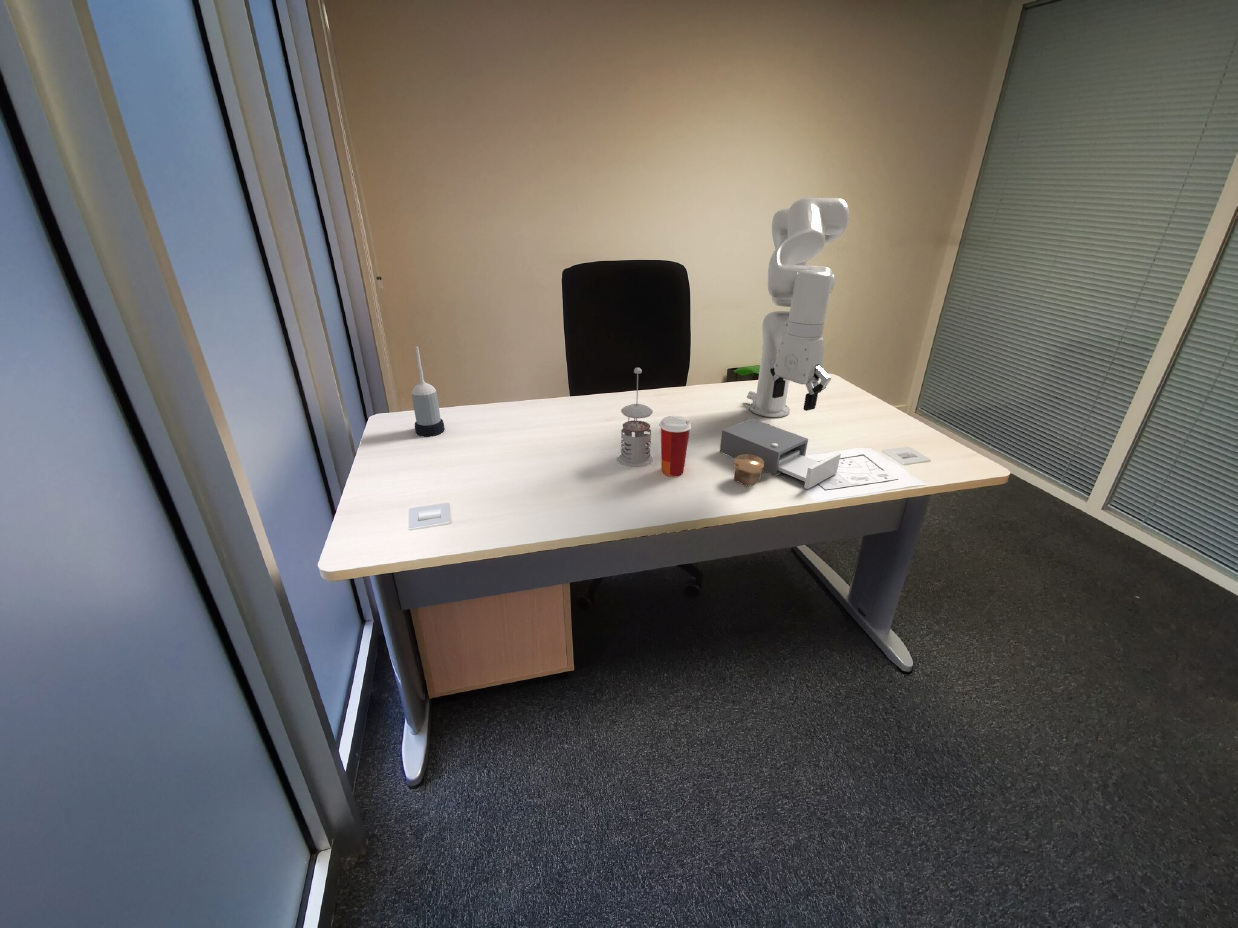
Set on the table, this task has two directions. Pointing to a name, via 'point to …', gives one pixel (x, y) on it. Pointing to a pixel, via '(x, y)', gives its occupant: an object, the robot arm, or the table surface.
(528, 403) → the table surface
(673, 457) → the paper cup
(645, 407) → the french press
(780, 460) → the tray
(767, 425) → the player
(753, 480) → the brown wooden cube
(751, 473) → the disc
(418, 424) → the grey bottle with nozzle
